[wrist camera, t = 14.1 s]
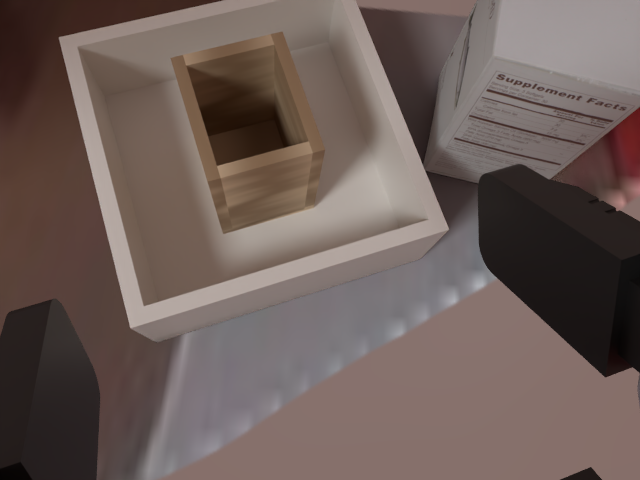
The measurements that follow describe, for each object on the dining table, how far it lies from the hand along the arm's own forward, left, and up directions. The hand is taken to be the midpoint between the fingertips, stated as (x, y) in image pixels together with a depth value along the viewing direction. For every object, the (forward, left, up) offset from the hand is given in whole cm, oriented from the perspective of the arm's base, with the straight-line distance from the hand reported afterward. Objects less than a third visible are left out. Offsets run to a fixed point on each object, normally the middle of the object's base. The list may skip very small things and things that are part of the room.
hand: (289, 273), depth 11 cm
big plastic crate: (+2, +11, -22) cm, 25 cm away
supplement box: (+17, +10, -22) cm, 30 cm away
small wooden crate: (+2, +11, -21) cm, 24 cm away
